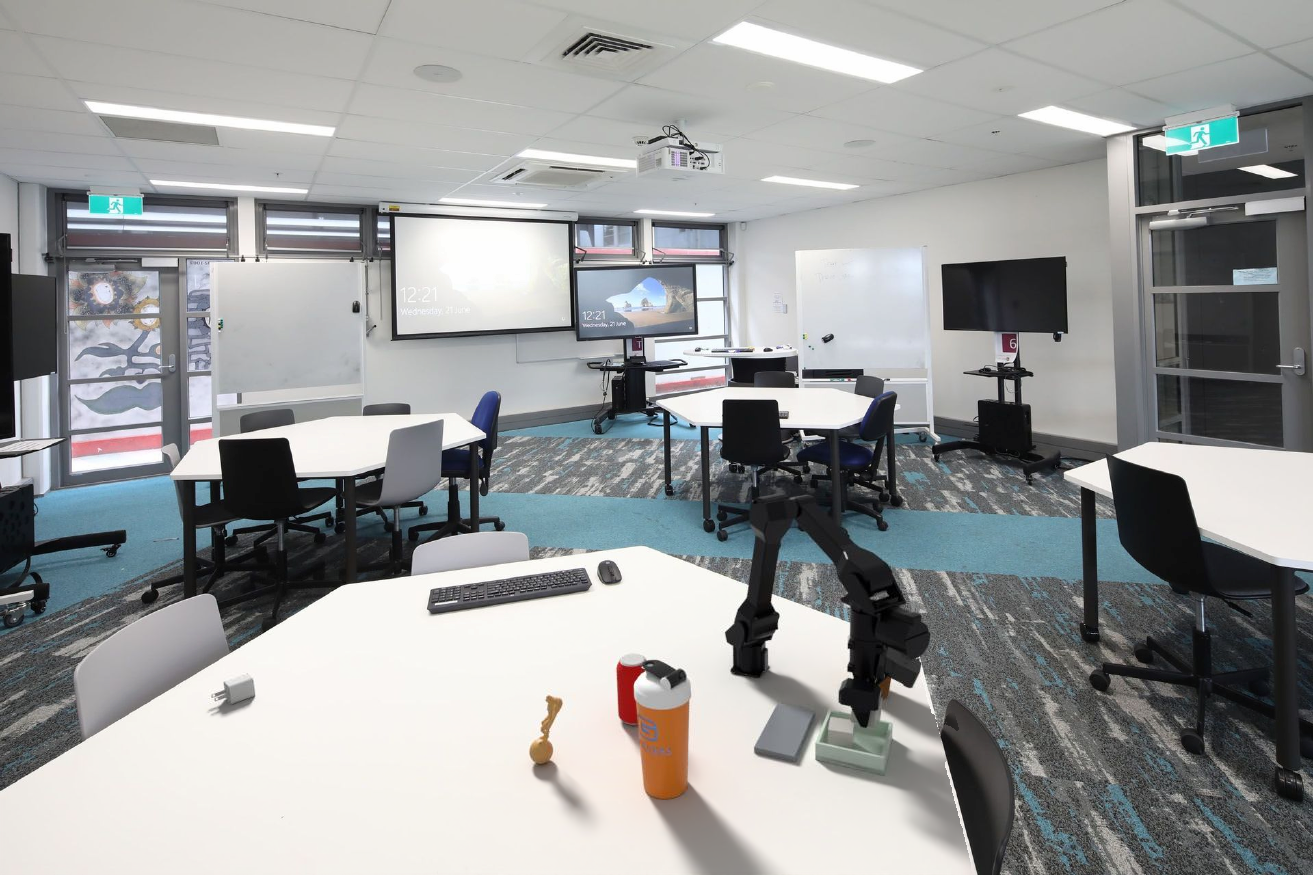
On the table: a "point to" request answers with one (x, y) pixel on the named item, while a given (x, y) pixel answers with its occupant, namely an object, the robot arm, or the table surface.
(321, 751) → the table surface
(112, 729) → the table surface
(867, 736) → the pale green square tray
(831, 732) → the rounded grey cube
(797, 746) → the slate board
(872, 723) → the grey stone cube
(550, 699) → the figurine
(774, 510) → the robot arm
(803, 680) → the table surface
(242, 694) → the usb wall charger
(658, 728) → the shaker bottle
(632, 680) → the beverage can
